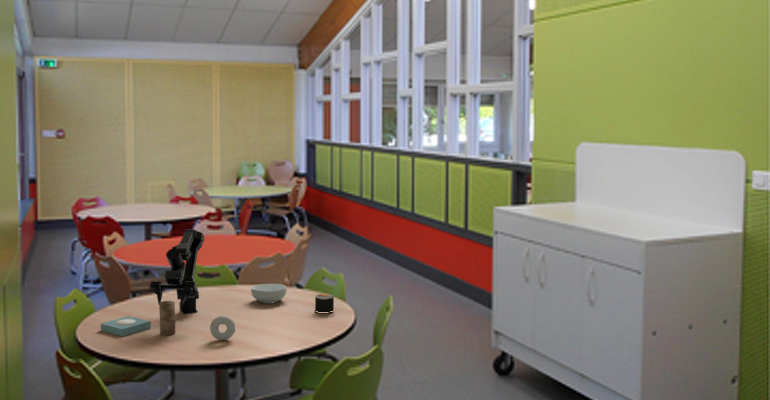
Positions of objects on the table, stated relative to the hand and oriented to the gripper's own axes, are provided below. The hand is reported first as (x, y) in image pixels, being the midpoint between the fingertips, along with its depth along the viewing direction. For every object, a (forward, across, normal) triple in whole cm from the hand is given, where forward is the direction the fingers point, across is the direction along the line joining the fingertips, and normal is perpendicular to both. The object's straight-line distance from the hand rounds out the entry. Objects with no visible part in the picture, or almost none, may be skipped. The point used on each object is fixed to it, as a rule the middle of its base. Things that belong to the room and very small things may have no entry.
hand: (170, 304), depth 302 cm
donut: (+17, +24, -1) cm, 30 cm away
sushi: (-14, +62, +30) cm, 70 cm away
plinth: (+7, -19, +9) cm, 22 cm away
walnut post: (+11, 0, +5) cm, 12 cm away
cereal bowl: (-26, +34, +42) cm, 60 cm away
